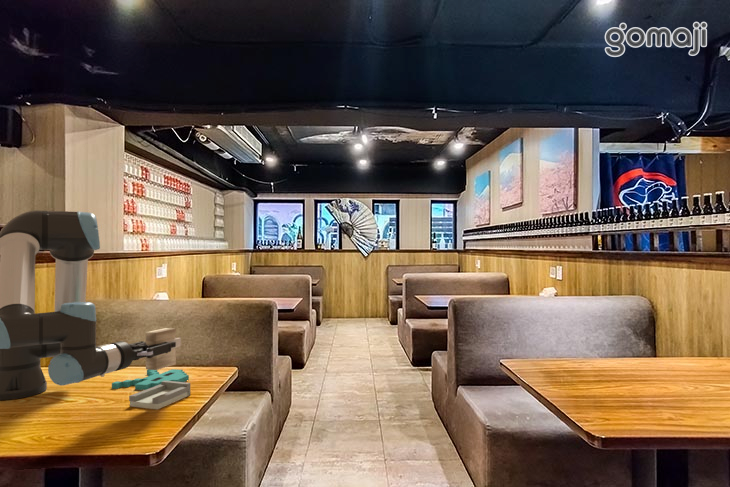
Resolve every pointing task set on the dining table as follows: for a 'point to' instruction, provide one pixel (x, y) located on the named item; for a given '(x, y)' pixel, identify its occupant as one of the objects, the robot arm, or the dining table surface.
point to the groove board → (152, 406)
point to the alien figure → (153, 379)
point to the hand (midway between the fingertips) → (173, 341)
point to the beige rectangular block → (161, 359)
